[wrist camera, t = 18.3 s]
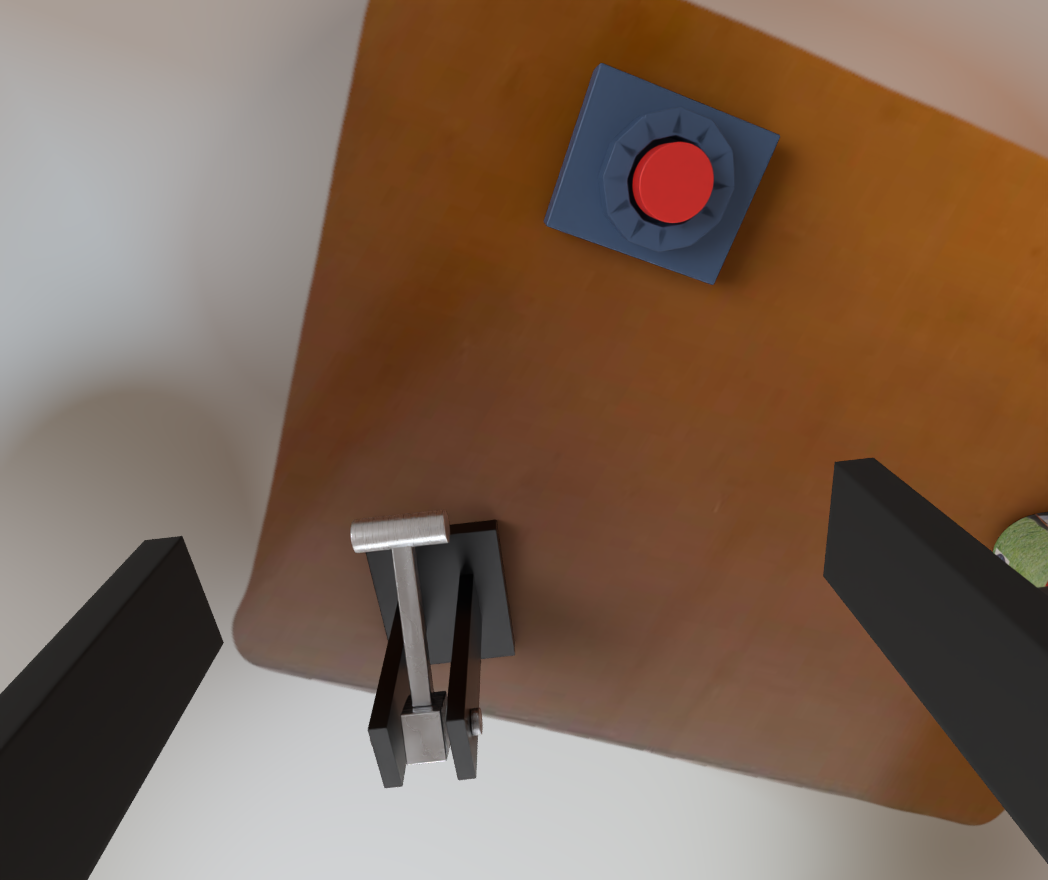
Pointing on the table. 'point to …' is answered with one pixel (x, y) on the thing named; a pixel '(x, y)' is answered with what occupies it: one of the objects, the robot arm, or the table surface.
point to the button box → (614, 152)
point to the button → (673, 182)
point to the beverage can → (1026, 548)
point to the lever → (412, 624)
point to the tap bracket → (443, 639)
